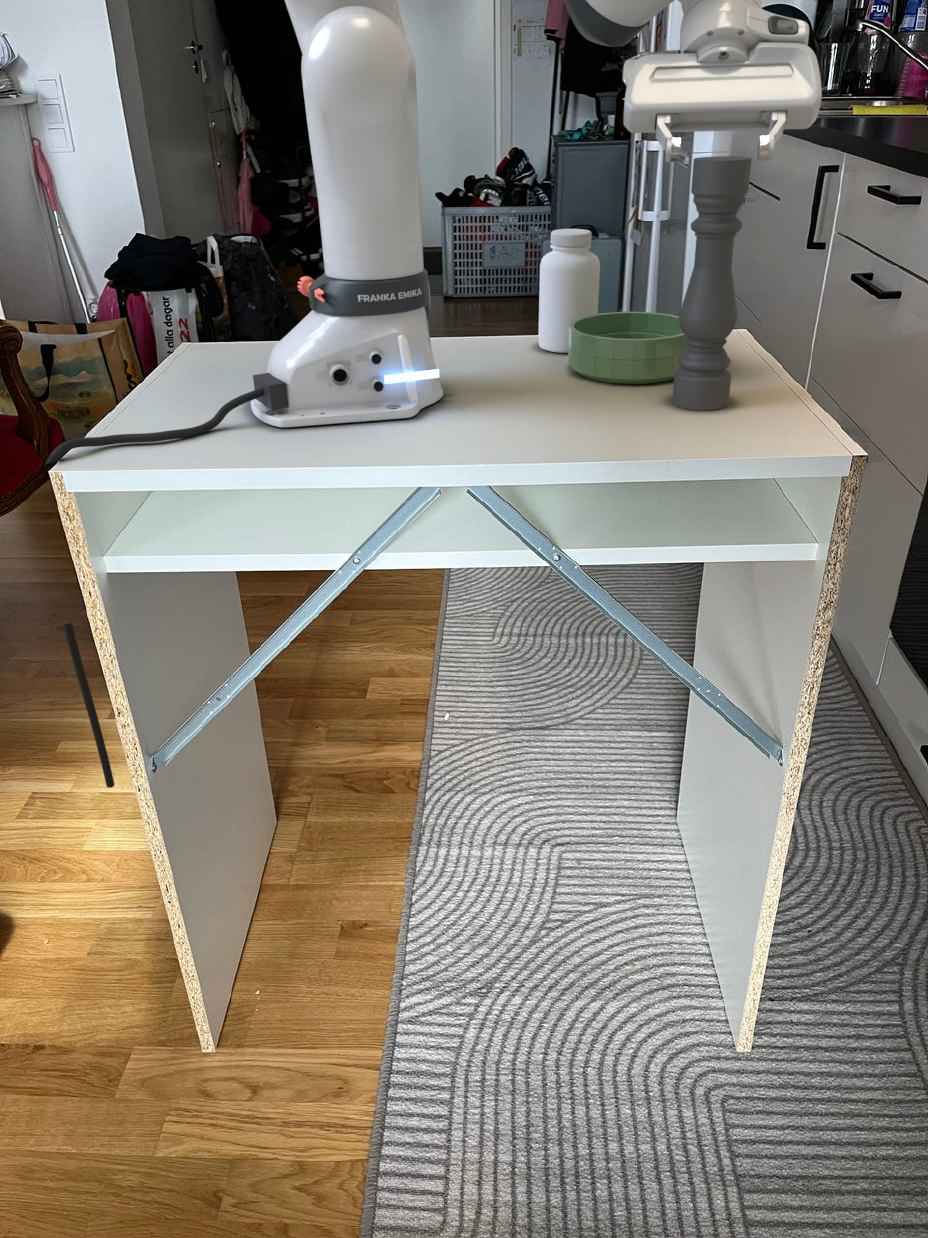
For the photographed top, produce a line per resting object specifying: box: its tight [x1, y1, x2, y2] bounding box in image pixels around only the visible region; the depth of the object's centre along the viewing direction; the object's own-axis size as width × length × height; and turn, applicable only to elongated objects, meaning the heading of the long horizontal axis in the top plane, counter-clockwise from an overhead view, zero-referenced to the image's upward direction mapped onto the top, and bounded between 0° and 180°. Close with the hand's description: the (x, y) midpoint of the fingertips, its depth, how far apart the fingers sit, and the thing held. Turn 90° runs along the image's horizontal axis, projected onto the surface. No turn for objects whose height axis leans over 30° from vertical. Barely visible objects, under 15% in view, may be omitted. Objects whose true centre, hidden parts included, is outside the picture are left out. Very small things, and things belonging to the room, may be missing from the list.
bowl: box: [567, 311, 687, 385], centre depth 122 cm, size 16×16×6 cm
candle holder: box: [671, 155, 753, 412], centre depth 104 cm, size 6×6×25 cm
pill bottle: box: [538, 228, 601, 354], centre depth 131 cm, size 8×8×15 cm
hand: (719, 156), depth 102 cm, fingers open, 8 cm apart
